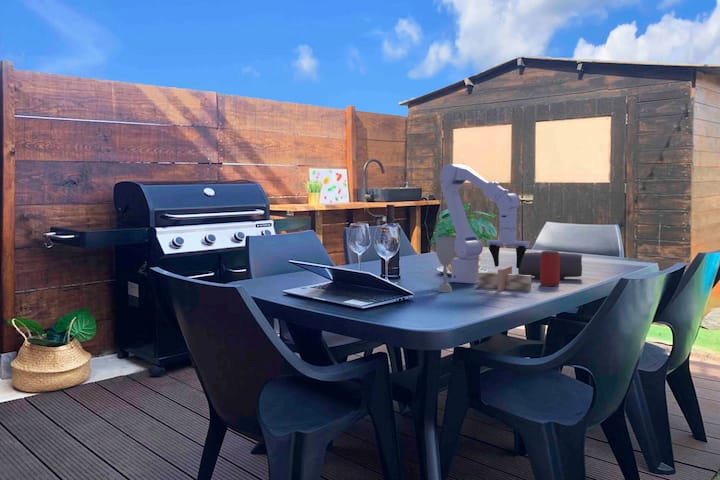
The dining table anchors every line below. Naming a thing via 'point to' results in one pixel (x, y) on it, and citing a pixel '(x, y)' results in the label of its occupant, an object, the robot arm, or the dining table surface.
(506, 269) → the tan thin board
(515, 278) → the slotted rail
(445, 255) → the chalice
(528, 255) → the bluetooth speaker
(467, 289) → the dining table surface
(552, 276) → the beer can
